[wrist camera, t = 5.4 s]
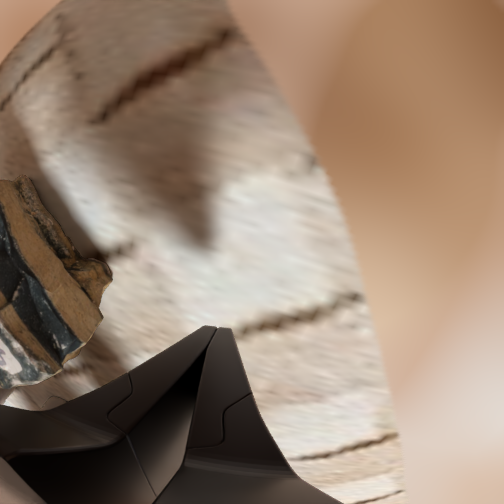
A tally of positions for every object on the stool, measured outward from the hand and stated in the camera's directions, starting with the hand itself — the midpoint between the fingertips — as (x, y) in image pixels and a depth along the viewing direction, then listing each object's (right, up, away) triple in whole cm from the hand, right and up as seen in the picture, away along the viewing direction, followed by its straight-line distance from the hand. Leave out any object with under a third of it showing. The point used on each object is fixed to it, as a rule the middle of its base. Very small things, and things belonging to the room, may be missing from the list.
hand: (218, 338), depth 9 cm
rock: (-10, +2, +3) cm, 10 cm away
